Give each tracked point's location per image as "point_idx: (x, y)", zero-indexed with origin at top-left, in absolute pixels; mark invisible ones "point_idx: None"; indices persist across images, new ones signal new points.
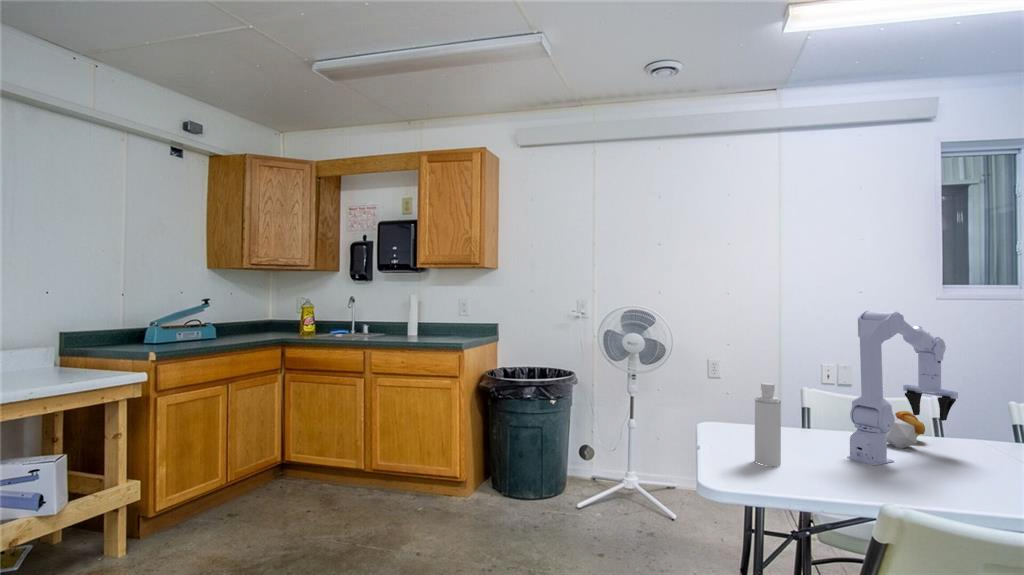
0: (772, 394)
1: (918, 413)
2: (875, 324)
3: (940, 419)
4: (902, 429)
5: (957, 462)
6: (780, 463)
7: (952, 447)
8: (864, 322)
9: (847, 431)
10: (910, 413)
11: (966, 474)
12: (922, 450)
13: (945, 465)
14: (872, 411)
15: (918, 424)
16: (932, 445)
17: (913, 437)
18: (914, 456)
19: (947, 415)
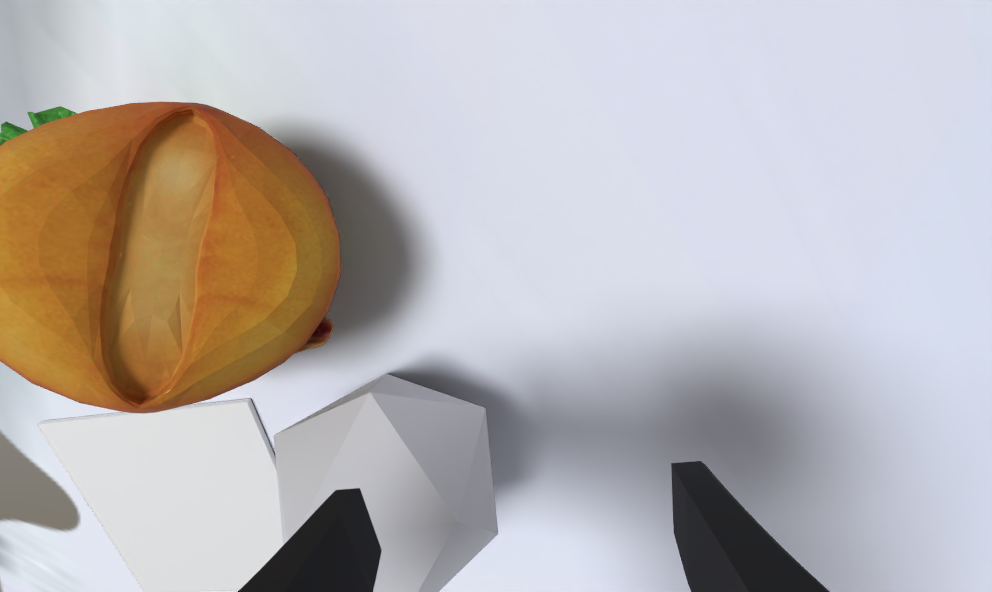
0: None
1: (360, 523)
2: None
3: (681, 543)
4: (450, 577)
5: (768, 402)
6: None
7: (494, 33)
8: None
9: (54, 423)
10: (59, 268)
11: (908, 552)
12: (506, 357)
13: (769, 510)
14: None
15: (300, 300)
16: (411, 154)
17: (485, 470)
18: (591, 507)
19: (742, 511)
